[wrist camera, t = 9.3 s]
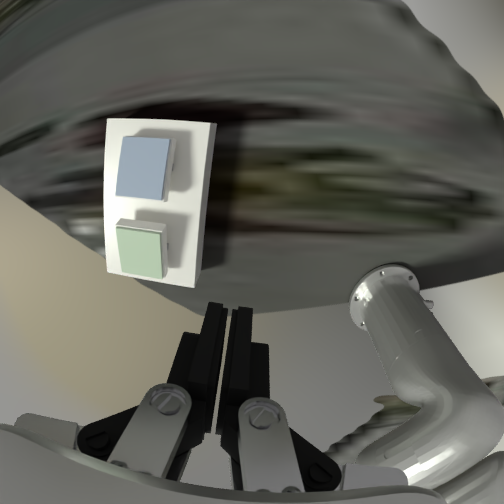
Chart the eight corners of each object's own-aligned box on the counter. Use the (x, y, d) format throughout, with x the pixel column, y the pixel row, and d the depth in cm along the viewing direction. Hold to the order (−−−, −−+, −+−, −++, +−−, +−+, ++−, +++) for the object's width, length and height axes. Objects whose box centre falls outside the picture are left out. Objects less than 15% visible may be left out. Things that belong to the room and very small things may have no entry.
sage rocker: (166, 224, 33) (161, 233, 31) (168, 270, 37) (163, 280, 35) (120, 217, 33) (113, 226, 31) (126, 263, 37) (120, 273, 35)
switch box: (217, 123, 34) (209, 122, 29) (201, 270, 43) (192, 291, 38) (123, 118, 34) (102, 118, 29) (119, 257, 43) (103, 274, 37)
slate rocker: (176, 140, 30) (171, 137, 28) (167, 201, 32) (162, 202, 30) (128, 137, 30) (121, 134, 28) (120, 196, 32) (113, 196, 30)
